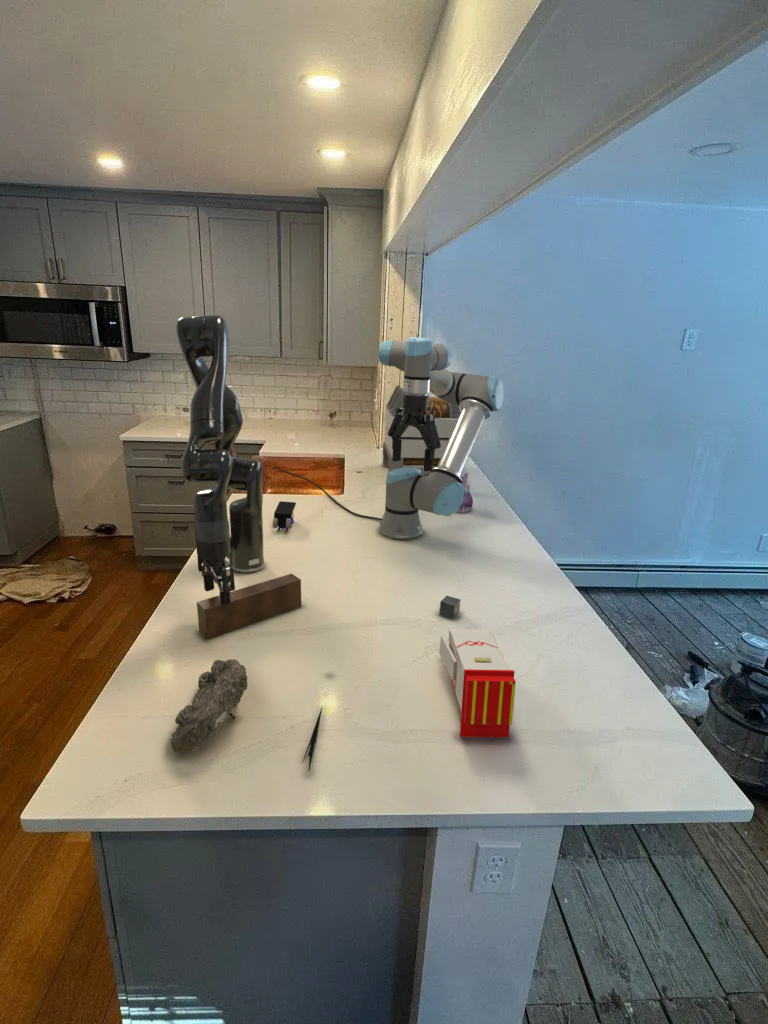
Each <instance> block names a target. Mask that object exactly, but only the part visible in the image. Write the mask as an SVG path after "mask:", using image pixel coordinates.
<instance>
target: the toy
mask: <svg viewBox="0 0 768 1024" xmlns="http://www.w3.org/2000/svg"><path fill="white" fill-rule="evenodd" d="M438 654H439V656H440V658H441V660H442V662H443V665H444V666H445V668H446V671H447V673H448V675H449V677H450V681H451V683H452V685H453V689H454V690H455V695H456V698H457V702H458V705H459V708H460V726H459V737H460V738H509V737H510V728H511V727H510V726H512V725H513V717H514V706H515V705H514V704H515V693H516V684H517V683H516V679H515V670H514V669H510V667H509V666H508V663H507V662H506V660H505V658H504V655H503V654H502V652H501V650H500V648H499V644H498V642H497V638H496V635H495V634H492V632H491V631H490V629H467V628H466V629H465V628H463V629H461V628H460V629H459V628H450V629H449V631H448V641H447V639H446V638H445V636H444V634H443V635H442V634H441V635H440V641H439V651H438Z"/></svg>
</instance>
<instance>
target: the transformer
mask: <svg viewBox="0 0 768 1024" xmlns="http://www.w3.org/2000/svg"><path fill="white" fill-rule="evenodd" d="M404 394H405V393H404V392H403V388H402V387H401V385H399V384H397V385H396V386H395V388H394V389H393V392H392V393H391V395H390V398H389V400H388V402H387V403H386V405H385V413H384V414H385V416H384V424H385V425H384V426H385V427H384V440H383V441H382V442H383V443H382V463H381V464H382V465H383V467H386V468H388V472H390V471H391V470H394V469H398V468H404V466H406V467H408V466H409V467H412V466H413V467H416V466H417V467H424V456H425V449H427V447H426V445H425V442H424V440H423V438H422V436H421V434H420V431H419V430H418V429H417V428H416V427H413V426H408V428H407V429H406V430H405V432H404V433H403V434H402V436H401V437H400V439H401V440H402V443H401V460H400V461H392V459H393V449H392V438H391V437H390V436H388V431H389V429H390V427H391V424H392V422H393V419H394V417H395V414H396V408H400V407H403V406H402V402H403V395H404ZM460 413H461V409H460V407H459V406H457V405H453V404H451V403H448V402H446V401H444V400H442V399H441V398H439V397H437V396H429V404H428V408H427V409H426V414H434V415H435V425H436V429H437V433H438V437H439V440H440V444H441V447H440V448H437V449H435V454H434V460H433V462H432V467H435V468H436V467H437V466H438V464H439V461H440V459H441V457H442V454H443V452H444V450H445V447H446V445H447V443H448V440H449V438H450V436H451V433H452V431H453V429H454V426H455V424H456V422H457V420H458V417H459V415H460ZM403 418H404V417H403ZM402 420H403V419H402ZM422 425H423V424H422Z"/></svg>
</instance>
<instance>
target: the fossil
mask: <svg viewBox="0 0 768 1024" xmlns="http://www.w3.org/2000/svg"><path fill="white" fill-rule="evenodd" d="M197 683H198V684H197V687H198V690H197V691H196V693H195V694H194V697H193V698H192V701H191V704H187V705H185V706H184V707H183V708H182V709H181V710H179V712H178V713H177V715H176V717H175V719H174V721H175V723H176V725H177V726H176V728H175V730H174V731H173V732H172V733H171V735H170V736H171V738H170V747H171V750H172V751H176V752H178V753H186V752H190V751H193V752H195V751H197V750H198V749H199V748H200V747H201V746H202V745H203V744H204V743H205V742H207V741H208V740H209V739H210V737H211V736H212V735H213V734H215V733H216V731H218V730H219V729H220V728H221V726H222V725H223V723H224V721H225V720H226V719H227V718H228V717H230V718H232V720H235V719H236V716H235V715H234V714H233V713H232V710H233V709H235V708H237V706H238V705H239V704H240V702H241V700H242V698H243V696H244V693H245V691H246V690H247V689H248V686H249V685H248V675H247V669H246V668H245V666H244V665H243V664H241V663H240V661H238V660H237V659H236V658H234V659H232V658H230V659H226V660H221V659H216V660H214V661H213V662H212V665H211V667H210V671H208V670H207V671H205V672H201V674H200V675H199V676H198V681H197Z"/></svg>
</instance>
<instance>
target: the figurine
mask: <svg viewBox="0 0 768 1024" xmlns="http://www.w3.org/2000/svg"><path fill="white" fill-rule="evenodd" d="M461 479H462V481H463V483H462V485H463V486H464V490H465V493H464V496H463V497H464V498H463V501H462V504H461V506H460V507H459V509H458V510H457V511H456V512H455V513H462V514H463V513H468V512H470V511H471V510H472V509H473V505H474V499H473V496H472V494H471V492H470V489H471V487H470V484H469V482H468V479H469V473H468V472H465V473H464V474H463V476H462V475H461Z"/></svg>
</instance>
